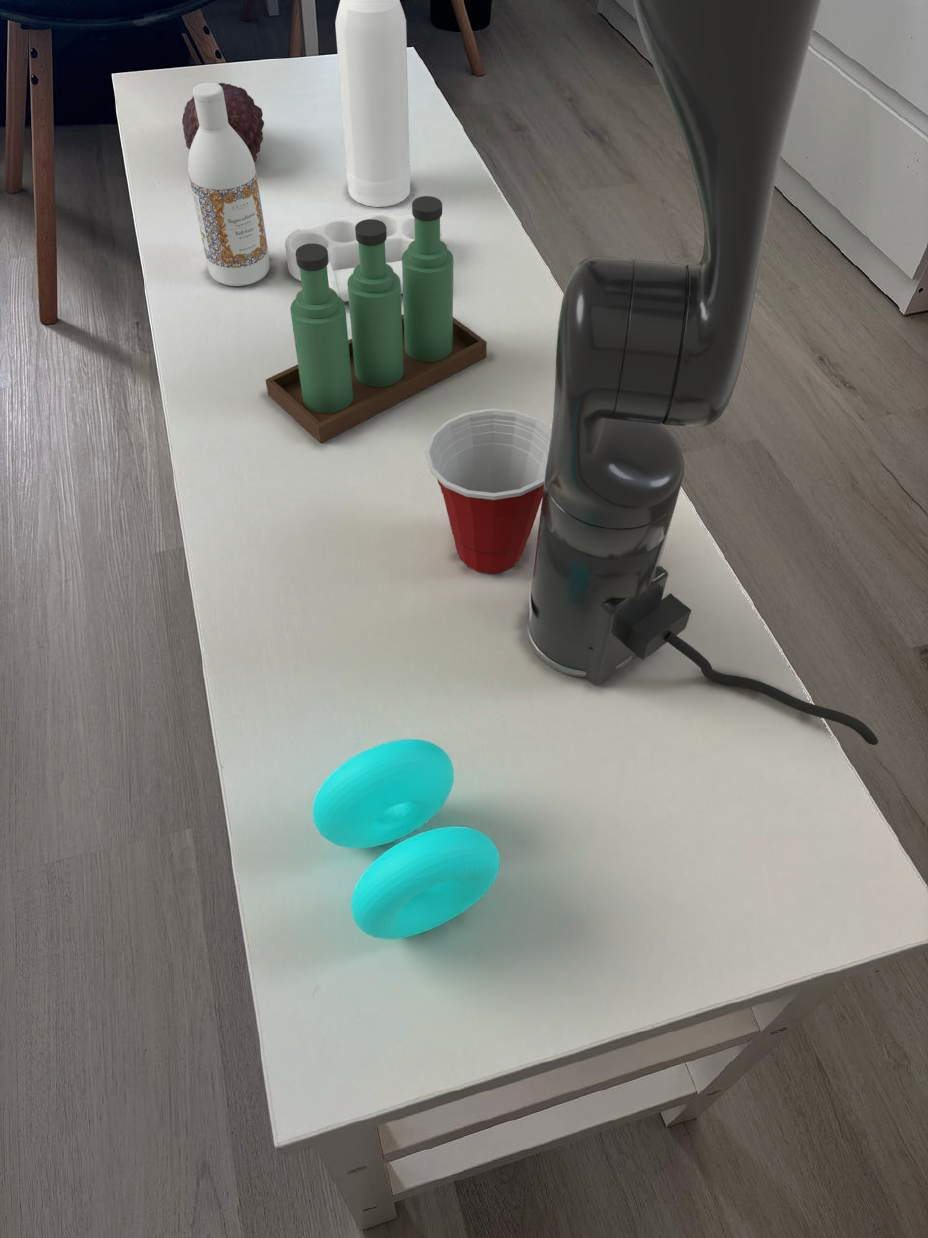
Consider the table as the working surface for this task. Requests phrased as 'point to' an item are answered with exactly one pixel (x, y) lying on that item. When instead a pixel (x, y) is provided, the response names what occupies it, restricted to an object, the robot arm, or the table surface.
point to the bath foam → (226, 194)
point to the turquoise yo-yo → (417, 867)
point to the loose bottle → (320, 335)
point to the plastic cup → (490, 482)
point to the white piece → (351, 246)
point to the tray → (375, 399)
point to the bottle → (374, 100)
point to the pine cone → (231, 118)
